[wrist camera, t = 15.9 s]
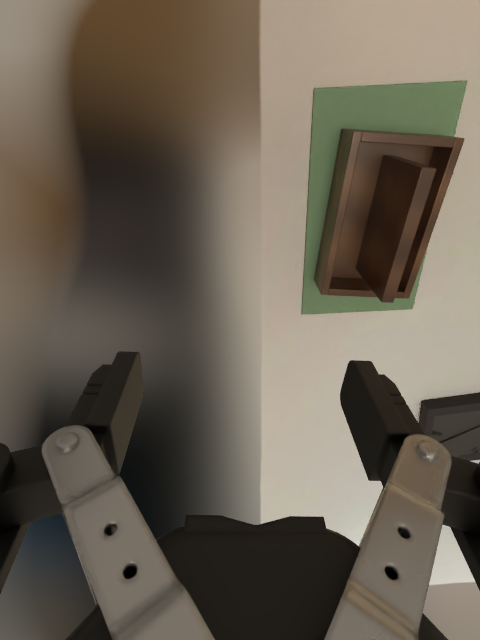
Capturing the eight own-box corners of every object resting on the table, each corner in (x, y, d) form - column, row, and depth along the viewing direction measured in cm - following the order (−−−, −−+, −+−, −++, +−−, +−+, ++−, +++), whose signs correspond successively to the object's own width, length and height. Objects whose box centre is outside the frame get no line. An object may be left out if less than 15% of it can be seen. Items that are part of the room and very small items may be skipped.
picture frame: (414, 457, 60) (523, 443, 59) (420, 468, 58) (532, 454, 57) (421, 400, 53) (544, 383, 52) (428, 411, 51) (556, 394, 50)
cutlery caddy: (341, 128, 34) (373, 135, 26) (441, 135, 35) (502, 143, 27) (313, 279, 42) (331, 318, 35) (395, 283, 43) (430, 322, 35)
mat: (313, 88, 33) (314, 88, 32) (466, 80, 32) (467, 80, 32) (301, 313, 45) (301, 314, 45) (411, 308, 45) (412, 309, 45)
